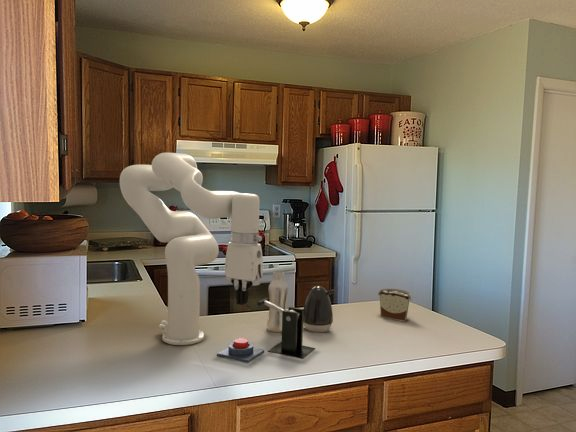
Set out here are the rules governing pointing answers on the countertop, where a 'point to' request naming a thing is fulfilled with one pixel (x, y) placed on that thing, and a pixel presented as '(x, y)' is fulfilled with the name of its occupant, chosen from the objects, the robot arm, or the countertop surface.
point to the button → (241, 343)
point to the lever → (273, 306)
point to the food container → (394, 303)
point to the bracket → (292, 335)
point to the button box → (241, 353)
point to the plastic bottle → (277, 301)
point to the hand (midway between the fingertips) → (241, 303)
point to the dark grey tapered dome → (318, 310)
